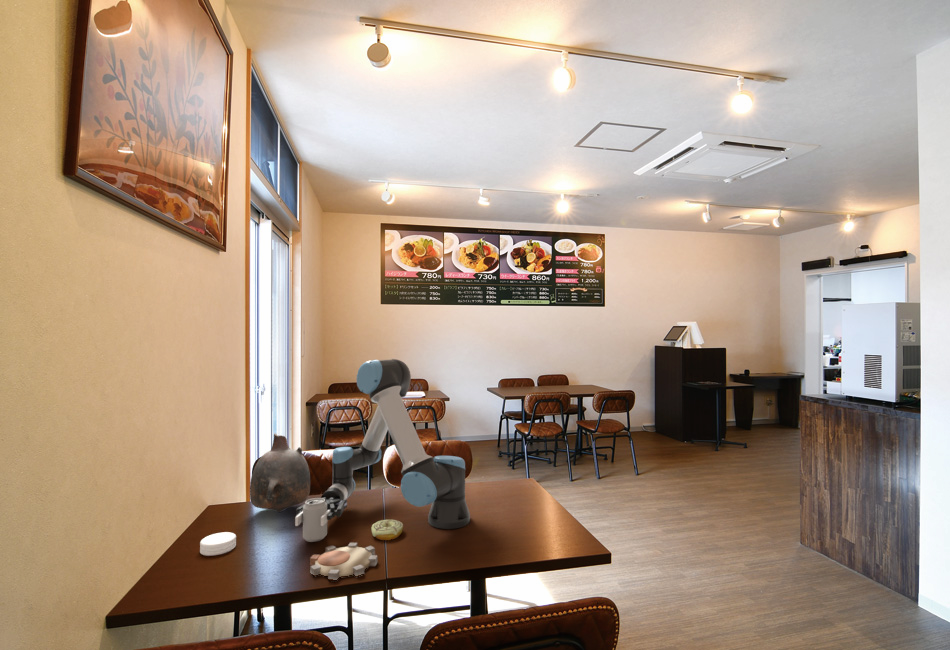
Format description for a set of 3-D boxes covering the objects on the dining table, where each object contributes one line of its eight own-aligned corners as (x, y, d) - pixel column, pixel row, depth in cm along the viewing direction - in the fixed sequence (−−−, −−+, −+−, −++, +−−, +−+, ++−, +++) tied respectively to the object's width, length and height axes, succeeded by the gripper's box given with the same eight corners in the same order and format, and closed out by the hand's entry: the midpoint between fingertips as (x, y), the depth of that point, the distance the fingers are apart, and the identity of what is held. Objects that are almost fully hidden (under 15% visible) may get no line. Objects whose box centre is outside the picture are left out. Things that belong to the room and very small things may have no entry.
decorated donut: (368, 542, 148) (368, 530, 148) (373, 529, 159) (373, 518, 159) (401, 541, 149) (401, 529, 149) (403, 528, 160) (404, 517, 160)
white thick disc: (202, 545, 146) (202, 534, 146) (237, 540, 150) (237, 529, 150) (197, 559, 137) (197, 547, 137) (234, 553, 141) (234, 541, 141)
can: (306, 533, 151) (306, 497, 152) (329, 532, 152) (329, 496, 152) (299, 543, 144) (300, 504, 144) (324, 542, 144) (324, 503, 145)
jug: (317, 515, 171) (318, 434, 173) (255, 528, 159) (256, 441, 161) (301, 497, 192) (302, 425, 193) (244, 508, 179) (246, 431, 181)
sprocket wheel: (384, 549, 143) (384, 542, 143) (367, 581, 123) (367, 573, 123) (323, 548, 143) (323, 542, 143) (297, 580, 124) (297, 572, 124)
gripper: (361, 508, 166) (341, 533, 143) (306, 508, 166) (277, 533, 143) (361, 487, 166) (341, 509, 143) (306, 487, 167) (277, 509, 144)
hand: (309, 521), depth 143 cm, fingers closed on can, 7 cm apart
